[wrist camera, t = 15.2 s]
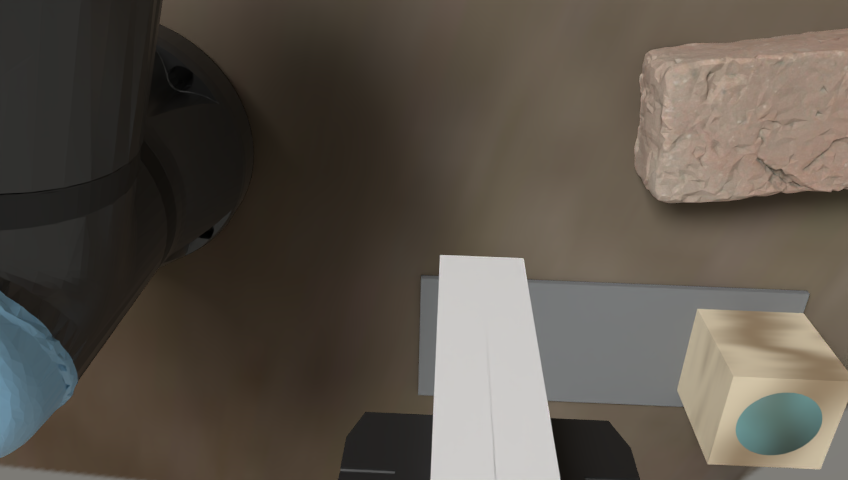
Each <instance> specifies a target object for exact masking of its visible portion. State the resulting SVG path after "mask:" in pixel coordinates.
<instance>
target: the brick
mask: <svg viewBox="0 0 848 480" xmlns="http://www.w3.org/2000/svg"><path fill="white" fill-rule="evenodd" d="M639 84H640V88H641V91H640V92H641V94H642V96H641V99H640V100H641V108H640V116H639V117H640V126H639V127H638V137H637V139H636V143H635V149H634V152H635V168H636V171H637V174H638V175H639V176H640V177H641V178H642V181H643V183H644V185H645V187H646V188H647V189H648V190H649V191H650V192H651V194H652V195H653V196H654V197H655V198H656V199H658V200H660V201H662V202H666V203H682V202H698V203H700V202H720V201H732V200H740V199H744V198H748V197H752V196H769V195H773V194H777V193H779V192H783V193H797V192H801V191H826V192H832V190H833V191H840V190H842V189H848V28H847V29H838V30H828V31H821V32H806V33H802V34H799V35H784V36H777V37H772V38H761V39H752V40H751V39H748V40H742V41H737V42H731V43H692V44H685V45H681V46H675V47H665V48H659V49H654V50H651V51H649V52H647V53H646V55H645V58H644V62H643V65H642V74H641V75H640V79H639Z"/></svg>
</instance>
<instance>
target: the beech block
mask: <svg viewBox="0 0 848 480" xmlns="http://www.w3.org/2000/svg"><path fill="white" fill-rule="evenodd" d="M677 392H678V394H679V396H680V399H681V401H682V404H683V406H684V408H685V411H686V413H687V416H688V418H689V420H690V423H691V425H692V428H693V430H694V433H695V435H696V437H697V440H698V442H699V445H700V447H701V449H702V452H703V454H704V457H705V459H706V461H707V464H715V465H737V466H758V467H779V468H801V469H821V467H822V465H823V462H824V460H825V457H826V455H827V452H828V450H829V447H830V444H831V442H832V440H833V437H834V435H835V432H836V430H837V427H838V425H839V422H840V420H841V417H842V415H843V412H844V410H845V407H846V405H847V402H848V371H847V370H846V368H845V367H844V366H843V364H842V363H841V362H840V361H839V359H838V358H837V357H836V355H835V354H834V353H833V351H832V350H831V349H830V347H829V346H828V345H827V343H826V342H825V341H824V340H823V338H822V337H821V336H820V334H819V333H818V332H817V330H816V329H815V328H814V326H813V325H812V324H811V323H810V321H809V320H808V319H807V317H806V316H805V315H804V313H787V312H762V311H738V310H714V309H697V312H696V316H695V320H694V324H693V328H692V332H691V336H690V340H689V344H688V348H687V352H686V356H685V360H684V364H683V368H682V372H681V376H680V380H679V384H678V388H677Z"/></svg>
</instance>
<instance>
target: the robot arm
mask: <svg viewBox="0 0 848 480" xmlns="http://www.w3.org/2000/svg"><path fill="white" fill-rule="evenodd" d="M161 8H162V0H0V458H1V457H4V456H6V455H8V454H9V453H11V452H13V451H15V450H16V449H18V448H19V447H20V446H22V445H23V444H24V443H26V442H27V441H28V440H29V439H30V438H31V437H32V436H33V435H34V434H35V433H36V432H37V430H38V429H39V428H40V427H41V426H42V425H43V424H44V423H45V422H46V420H47V419H48V418H49V417H50V416H51V415H52V414H53V413H54V412H55V411H56V410H57V409H58V408H59V407H60V406H62V405H64V404H65V403H66V401H67V400H69V399H70V398H71V396H72V395H73V392H74V388H75V386H76V384H77V383H78V380H79V379H80V378H81V376H82V375H83V373H84V372H85V371H86V369H87V368H88V366H89V365H90V363H91V362H92V361H93V359H94V358H95V356H96V355H97V354H98V352H99V351H100V349H101V348H102V347H103V345H104V344H105V342H106V341H107V340H108V338H109V337H110V335H111V334H112V333H113V331H114V330H115V328H116V327H117V326H118V324H119V323H120V321H121V320H122V319H123V317H124V316H125V314H126V313H127V312H128V310H129V309H130V307H131V306H132V305H133V303H134V302H135V300H136V299H137V298H138V296H139V295H140V293H141V292H142V291H143V289H144V288H145V286H146V285H147V284H148V282H149V281H150V279H151V278H152V277H153V275H154V274H155V272H156V271H157V269H158V268H160V267H162V266H164V265H166V264H168V263H171V262H173V261H175V260H177V259H179V258H181V257H183V256H185V255H187V254H190V253H192V252H194V251H195V250H197V249H199V248H201V247H202V246H204V245H205V244H207V243H208V242H209V241H211V240H212V239H213V238H214V237H215V236H216V235H217V234H218V233H219V232H220V231H221V230H222V229H223V228H224V227H225V226H226V225H227V223H228V222H229V220H230V219H231V218H232V216H233V214H234V213H235V211H236V210H237V208H238V207H239V205H240V203H241V202H242V200H243V198H244V196H245V194H246V191H247V189H248V186H249V183H250V179H251V175H252V170H253V155H254V152H253V140H252V134H251V129H250V125H249V122H248V118H247V115H246V113H245V110H244V107H243V105H242V103H241V101H240V99H239V97H238V95H237V93H236V91H235V90H234V88H233V87H232V85H231V83H230V82H229V81H228V79H227V78H226V76H225V75H224V74H223V73H222V71H221V70H220V69H219V68H218V67H217V65H216V64H215V63H214V62H213V61H212V60H211V59H210V58H209V57H208V56H207V55H206V54H205V53H203V52H202V51H201V50H200V49H199V48H198V47H196V46H195V45H194V44H192V43H191V42H190V41H188V40H187V39H185V38H184V37H182V36H181V35H179V34H177V33H176V32H174V31H172V30H170V29H168V28H166V27H164V26H162V25H160V24H159V22H160V15H161ZM338 480H640V478H639V474H638V471H637V468H636V464H635V461H634V458H633V454H632V451H631V448H630V447H629V445H628V444H627V443H626V442H625V440H624V439H623V438H622V437H621V436H620V434H619V433H618V432H617V431H616V430H615V428H614V427H613V426H612V425H611V423H610V422H609V421H599V420H577V419H555V418H550V414H549V408H548V402H547V396H546V390H545V384H544V378H543V372H542V366H541V360H540V354H539V348H538V342H537V336H536V330H535V324H534V318H533V312H532V306H531V300H530V294H529V288H528V282H527V276H526V270H525V264H524V258H503V257H478V256H453V255H440V267H439V291H438V314H437V338H436V361H435V385H434V409H433V415H419V414H397V413H375V412H365V413H364V415H363V416H362V417H361V419H360V420H359V421H358V422H357V424H356V425H355V426H354V428H353V429H352V430H351V432H350V433H349V434H348V436H347V437H346V442H345V447H344V452H343V458H342V463H341V471H340V473H339V478H338Z"/></svg>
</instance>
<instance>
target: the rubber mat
mask: <svg viewBox="0 0 848 480" xmlns="http://www.w3.org/2000/svg"><path fill="white" fill-rule="evenodd" d="M527 282H528V288H529V294H530V300H531V306H532V312H533V318H534V324H535V330H536V336H537V342H538V348H539V354H540V360H541V366H542V372H543V378H544V384H545V390H546V396H547V401H566V402H588V403H611V404H633V405H655V406H678V407H684V406H683V404H682V401H681V399H680V396H679V394H678V392H677V388H678V384H679V380H680V376H681V372H682V368H683V364H684V360H685V356H686V352H687V348H688V344H689V340H690V336H691V332H692V328H693V324H694V320H695V316H696V312H697V309H714V310H738V311H762V312H787V313H804V310H805V307H806V304H807V301H808V298H809V295H810V294H809V293H808V291H797V290H773V289H748V288H723V287H698V286H674V285H649V284H624V283H599V282H575V281H550V280H527ZM438 291H439V276H426V275H421V301H420V343H419V386H418V395H432V396H434V385H435V361H436V338H437V314H438Z"/></svg>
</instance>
